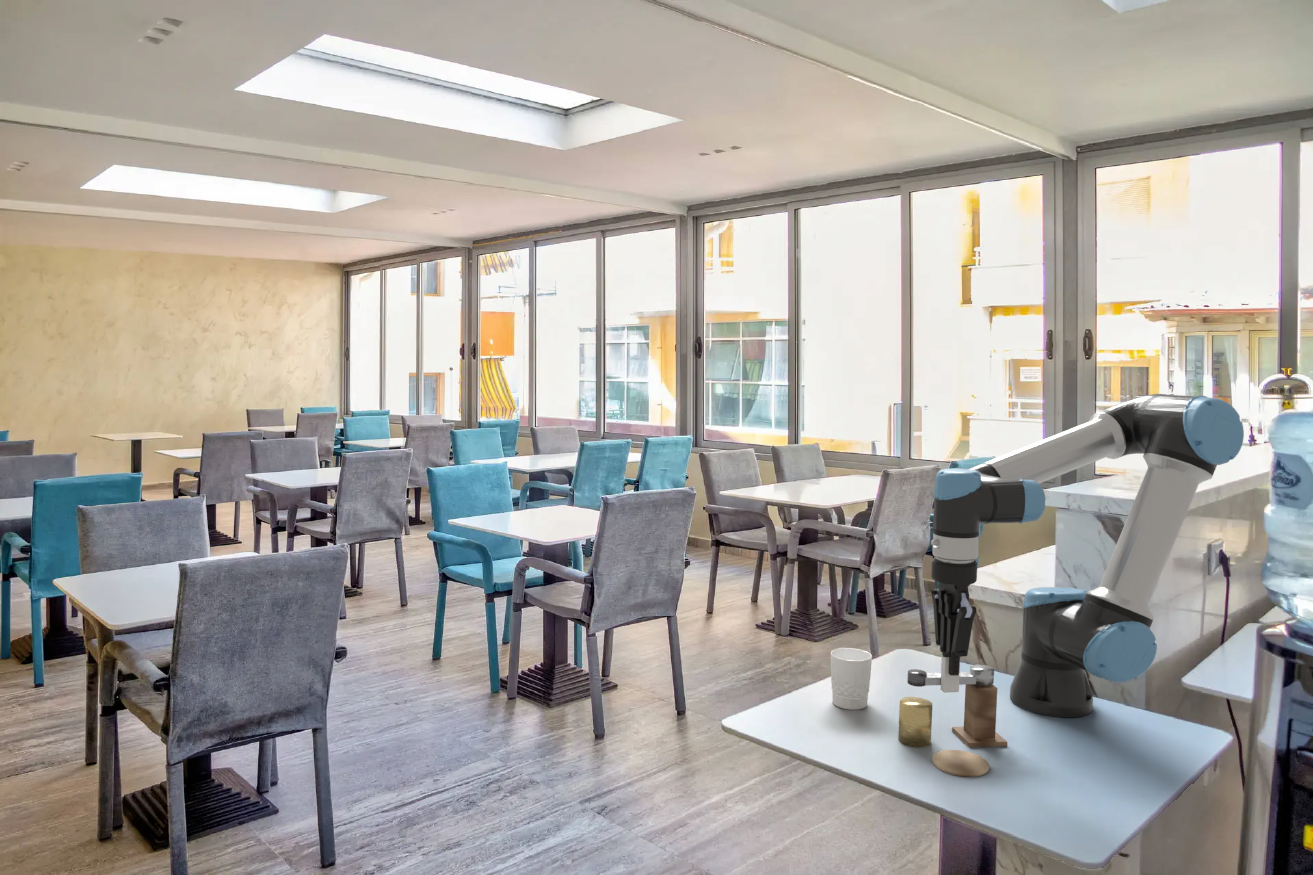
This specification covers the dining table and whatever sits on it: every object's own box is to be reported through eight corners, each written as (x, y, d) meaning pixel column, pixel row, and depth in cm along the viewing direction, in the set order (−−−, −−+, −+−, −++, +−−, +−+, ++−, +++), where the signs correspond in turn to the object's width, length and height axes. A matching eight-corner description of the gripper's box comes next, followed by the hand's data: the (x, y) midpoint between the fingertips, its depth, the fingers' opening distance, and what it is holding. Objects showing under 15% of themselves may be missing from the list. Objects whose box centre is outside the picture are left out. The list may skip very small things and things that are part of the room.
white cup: (870, 713, 177) (872, 662, 176) (828, 709, 179) (830, 659, 178) (869, 698, 185) (871, 649, 184) (829, 694, 186) (831, 646, 186)
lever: (987, 677, 167) (987, 664, 167) (997, 685, 163) (998, 672, 163) (903, 679, 165) (904, 666, 165) (912, 687, 162) (912, 674, 161)
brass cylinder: (923, 734, 168) (924, 696, 167) (936, 747, 162) (937, 708, 162) (893, 735, 167) (895, 697, 166) (905, 748, 162) (906, 709, 161)
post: (988, 729, 170) (990, 676, 169) (1007, 746, 163) (1009, 690, 162) (951, 731, 169) (954, 677, 168) (968, 747, 162) (971, 692, 161)
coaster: (974, 752, 160) (974, 748, 160) (998, 775, 151) (999, 772, 151) (924, 754, 159) (924, 750, 159) (946, 778, 150) (946, 774, 150)
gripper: (918, 550, 166) (914, 678, 168) (950, 567, 153) (945, 705, 155) (958, 550, 167) (953, 677, 169) (993, 566, 154) (987, 704, 156)
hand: (949, 690), depth 162 cm, fingers closed
